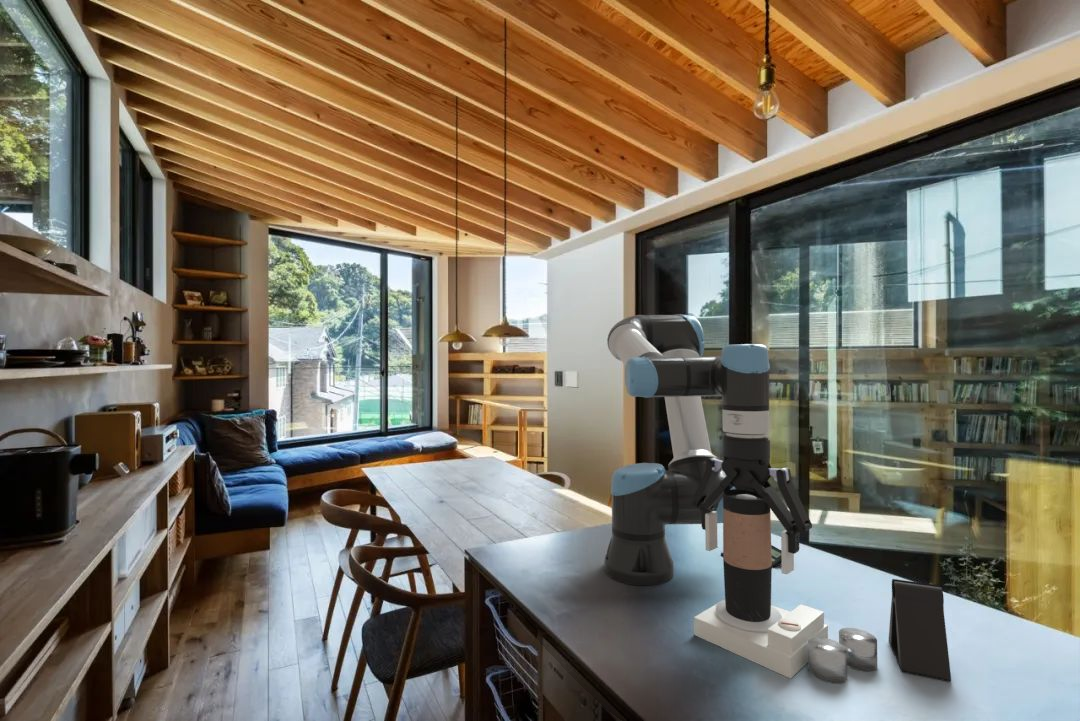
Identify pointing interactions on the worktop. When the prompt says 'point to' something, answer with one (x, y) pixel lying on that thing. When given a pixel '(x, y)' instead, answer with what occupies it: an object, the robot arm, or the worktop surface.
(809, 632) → the scale
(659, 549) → the robot arm
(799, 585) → the worktop surface
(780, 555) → the calculator
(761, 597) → the travel mug
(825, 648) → the cylinder
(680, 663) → the worktop surface
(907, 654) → the phone stand
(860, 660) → the cylinder
